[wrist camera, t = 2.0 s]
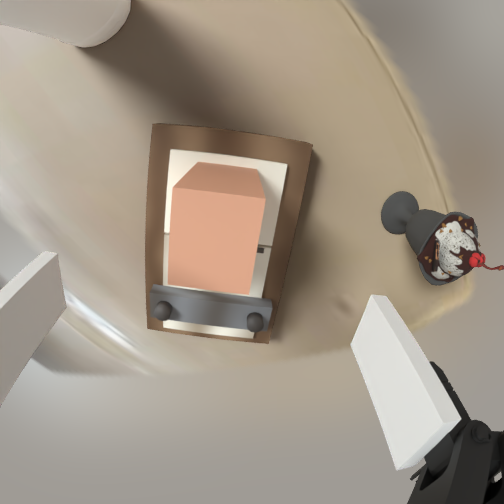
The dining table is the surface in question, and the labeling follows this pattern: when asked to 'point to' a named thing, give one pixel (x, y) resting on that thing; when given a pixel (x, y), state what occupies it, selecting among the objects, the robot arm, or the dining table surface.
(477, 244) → the sundae
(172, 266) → the stub
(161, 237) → the board
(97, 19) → the bottle
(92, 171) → the dining table surface
